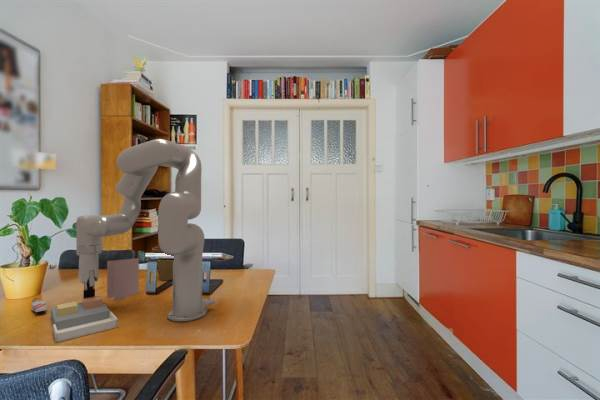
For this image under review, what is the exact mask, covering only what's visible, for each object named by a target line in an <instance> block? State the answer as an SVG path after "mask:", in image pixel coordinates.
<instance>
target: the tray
mask: <svg viewBox="0 0 600 400" xmlns="http://www.w3.org/2000/svg"><path fill="white" fill-rule="evenodd" d="M116 327H117V328H119V319H118V317H117V316H116V315H115V314H114V313H113V312H112V311H110V318H108V319H104V320H100V321H95V322H91V323H87V324H82V325H78V326H74V327H70V328H65V329H61V330H57V328H56V324H53V323H52V334H53V338H54V341H55V343H56V344H57V343H61V342H64V341H69V340H74V339H76V338H81V337H85V336H90V335H94V334H96V333H97V334H98V333H101V332H104V331H108V330H113V329H116ZM112 328H113V329H112Z"/></svg>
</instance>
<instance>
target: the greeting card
mask: <svg viewBox="0 0 600 400" xmlns="http://www.w3.org/2000/svg"><path fill="white" fill-rule="evenodd" d="M139 261H140V258H139V257H137V258H135V257H134V258H125V259H116V260H115V259H114V260H107V261H106V262H107V263H106V269H107V270H106V298H108V299H109V298H113V302H116V301H119V300H121V299H124V298H128V297H131V296H133V295H136V294H139V292H140V289H139V287H140V285H139V284H140V282H139V281H140V278H139V277H140V271H139V267H140V262H139Z"/></svg>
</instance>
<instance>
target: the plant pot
mask: <svg viewBox="0 0 600 400" xmlns="http://www.w3.org/2000/svg"><path fill="white" fill-rule="evenodd" d="M153 253H164V252H163V251H162V250H161V248H160V246H156V247H152V254H153ZM156 272H157V274H158V277H159V280H160V281H163V282H165V281H173V280H172V279H173V261H167V260H160V261H158V271H157V270H156Z"/></svg>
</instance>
